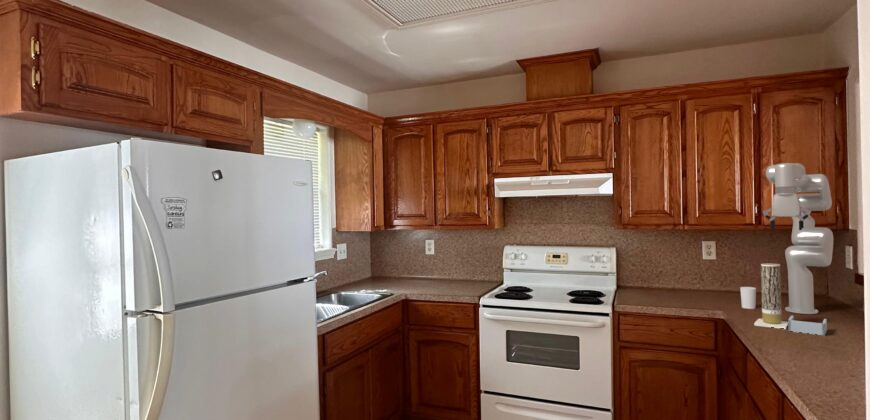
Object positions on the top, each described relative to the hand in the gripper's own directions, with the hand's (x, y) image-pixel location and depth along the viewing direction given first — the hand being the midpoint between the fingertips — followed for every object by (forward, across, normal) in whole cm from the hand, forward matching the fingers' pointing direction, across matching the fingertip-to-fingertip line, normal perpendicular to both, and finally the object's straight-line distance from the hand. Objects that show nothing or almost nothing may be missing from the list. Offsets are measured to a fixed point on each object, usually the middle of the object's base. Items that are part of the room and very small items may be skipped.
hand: (786, 229), depth 211 cm
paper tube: (+40, +5, +12) cm, 42 cm away
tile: (+40, +5, +12) cm, 42 cm away
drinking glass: (+40, +19, -23) cm, 50 cm away
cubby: (+40, -8, +15) cm, 44 cm away
